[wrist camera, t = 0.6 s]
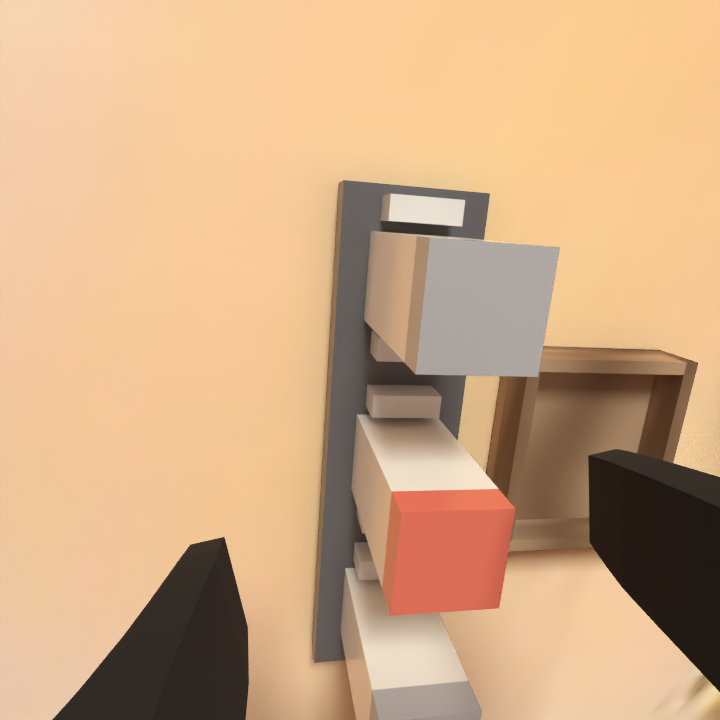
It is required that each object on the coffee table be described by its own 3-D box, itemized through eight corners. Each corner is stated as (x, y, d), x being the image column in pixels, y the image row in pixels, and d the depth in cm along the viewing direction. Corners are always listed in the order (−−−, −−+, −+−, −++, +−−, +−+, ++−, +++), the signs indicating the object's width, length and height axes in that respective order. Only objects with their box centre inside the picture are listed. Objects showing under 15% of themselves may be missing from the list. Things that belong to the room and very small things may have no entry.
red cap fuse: (435, 414, 19) (515, 509, 13) (426, 486, 20) (498, 608, 14) (356, 414, 19) (401, 512, 12) (351, 488, 19) (390, 615, 13)
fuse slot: (417, 564, 21) (481, 710, 15) (410, 625, 22) (468, 789, 15) (345, 568, 20) (379, 722, 14) (340, 631, 21) (370, 802, 15)
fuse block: (475, 195, 18) (505, 192, 16) (421, 631, 23) (438, 676, 21) (338, 182, 17) (349, 177, 15) (312, 639, 22) (317, 687, 20)
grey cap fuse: (456, 236, 17) (559, 246, 11) (446, 323, 18) (538, 376, 12) (370, 230, 17) (429, 237, 11) (364, 319, 18) (415, 374, 11)
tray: (659, 350, 21) (698, 362, 20) (621, 518, 23) (652, 544, 22) (505, 345, 20) (530, 358, 18) (478, 523, 22) (498, 552, 20)
